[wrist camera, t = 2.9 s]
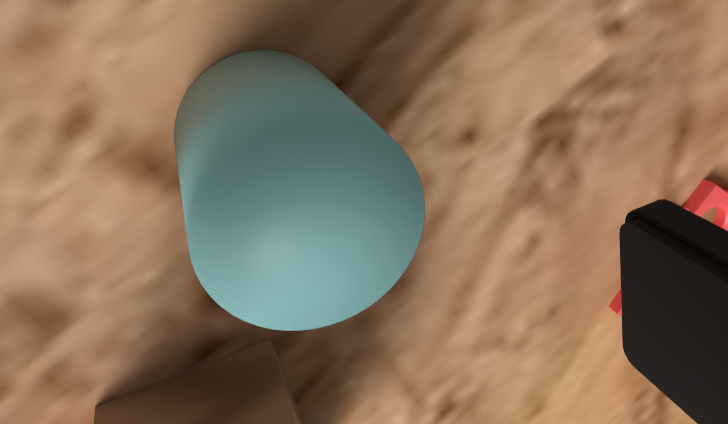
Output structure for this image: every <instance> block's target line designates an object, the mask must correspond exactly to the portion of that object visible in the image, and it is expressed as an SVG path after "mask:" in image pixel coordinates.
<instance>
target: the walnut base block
mask: <svg viewBox="0 0 728 424" xmlns="http://www.w3.org/2000/svg"><path fill="white" fill-rule="evenodd" d="M94 424H304V423H303V420H302V418H301V415H300V413H299V410H298V408H297V405H296V403H295V400H294V397H293V395H292V392H291V390H290V387H289V385H288V382H287V380H286V377H285V375H284V372H283V370H282V367H281V365H280V362H279V360H278V357H277V355H276V352H275V350H274V347H273V345H272V342H271V339H268V340H265V341H263V342H260V343H258V344H255V345H253V346H250V347H248V348H245V349H242V350H240V351H237V352H235V353H232V354H230V355H227V356H224V357H222V358H219V359H217V360H214V361H212V362H209V363H206V364H204V365H201V366H199V367H196V368H194V369H191V370H189V371H186V372H183V373H181V374H178V375H176V376H173V377H171V378H168V379H165V380H163V381H160V382H158V383H155V384H153V385H150V386H147V387H145V388H142V389H140V390H137V391H135V392H132V393H130V394H127V395H124V396H122V397H119V398H117V399H114V400H112V401H109V402H106V403H104V404H101V405H99V406H96V407H95V416H94Z"/></svg>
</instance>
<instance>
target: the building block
mask: <svg viewBox="0 0 728 424" xmlns="http://www.w3.org/2000/svg"><path fill="white" fill-rule="evenodd" d="M712 207H717V217H716V220H715V222H714V224H715V225H717V226H719V227H721V228H723V229H725V230H727V231H728V190H727V189H725V190H724V189H722V188H721V187H719V186H718V185H717V184H715V183H713V182H711V181H709V180H707V179H703V181H702V182H701V183H700V185H699V186H698V187H697V189H696V190H695V191H694V193H693V194H692V195H691V197H690V198H689V199H688V201H687V202H686V203H685V205H684V206H683V207H682V208H684V209H686V210H688V211H690V212H692V213H694V214H696V215H698V216H700V217H701V216H702V215H703V214H704V213H705V212H706V211H707V210H708V209H710V208H712ZM609 307H610V308H611V309H612V310H613V311H614V312H615V313H617V314H618V315H620V316H622V301H621V290H620V291H619V293H618V294H617V295H616V297H615V298H614V299H613V301H612V302H611V303H610V305H609Z"/></svg>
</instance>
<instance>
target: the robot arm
mask: <svg viewBox="0 0 728 424" xmlns="http://www.w3.org/2000/svg"><path fill="white" fill-rule="evenodd" d="M620 265H621V301H622V337H623V349H624V352H625V355H626V356H627V358H628V360H629V361H630V363H631V364H632V365H633V366H634V367H635V368H636V369H637V370H638V371H639V372H640V373H641V374H643V375H644V376H645V377H646V378H647V379H648V380H649V381H650V382H652V383H653V384H654V385H655V386H656V387H657V388H658V389H659V390H661V391H662V392H663V393H664V394H665V395H666V396H667V397H668V398H669V399H671V400H672V401H673V402H674V403H675V404H676V405H677V406H678V407H680V408H681V409H682V410H683V411H684V412H685V413H686V414H687V415H689V416H690V417H691V418H692V419H693V420H694V421H695V422H696V423H697V424H728V231H727V230H725V229H723V228H721V227H719V226H717V225H715V224H713V223H711V222H709V221H707V220H705V219H703V218H702V217H700V216H698V215H696V214H694V213H692V212H690V211H688V210H686V209H684V208H682V207H680V206H678V205H676V204H674V203H673V202H671V201H668V200H665V199H663V200H657V201H655V202H652V203H650V204H647V205H645V206H642V207H640V208H637V209H635V210H632V211H631V212H629V213H628V214H627V216H626V219H625V223H624V224H623V225H622V226H621V228H620Z"/></svg>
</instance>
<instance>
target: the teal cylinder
mask: <svg viewBox="0 0 728 424" xmlns="http://www.w3.org/2000/svg"><path fill="white" fill-rule="evenodd" d="M174 144H175V152H176V159H177V166H178V174H179V181H180V189H181V196H182V203H183V211H184V218H185V226H186V233H187V241H188V248H189V253H190V258H191V262H192V265H193V268H194V270H195V273H196V275H197V277H198V279H199V281H200V283H201V284H202V286H203V288H204V289H205V290H206V291H207V293H208V294H209V295H210V297H211V298H212V299H213V300H214V301H215V302H216V303H218V304H219V305H220V306H221V307H222V308H223V309H225V310H226V311H228V312H229V313H230V314H232V315H233V316H235V317H237V318H239V319H241V320H243V321H245V322H248V323H251V324H253V325H256V326H259V327H264V328H268V329H274V330H283V331H301V330H309V329H316V328H320V327H325V326H329V325H332V324H335V323H338V322H341V321H343V320H345V319H347V318H350V317H352V316H354V315H356V314H358V313H359V312H361V311H363V310H364V309H366V308H368V307H369V306H370V305H372V304H373V303H375V302H376V301H377V300H379V299H380V298H381V297H382V296H383V295H384V294H385V293H386V292H388V291H389V290H390V289H391V287H392V286H393V285H394V284H395V283H396V282H397V281H398V280H399V278H400V277H401V276H402V274H403V273H404V271H405V270H406V269H407V267H408V265H409V263H410V262H411V260H412V258H413V256H414V254H415V252H416V249H417V247H418V244H419V241H420V238H421V234H422V231H423V224H424V217H425V202H424V194H423V188H422V185H421V181H420V178H419V175H418V173H417V171H416V168H415V166H414V164H413V163H412V161H411V160H410V158H409V157H408V155H407V154H406V152H405V151H404V150H403V149H402V148H401V147H400V145H399V144H398V143H397V142H396V141H395V140H393V139H392V138H391V137H390V136H389V135H388V134H387V133H386V132H385V131H384V130H383V129H382V128H381V127H380V126H378V125H377V124H376V123H375V122H374V121H373V120H372V119H371V118H370V117H369V116H368V115H367V114H366V113H365V112H363V111H362V110H361V109H360V108H359V107H358V106H357V105H356V104H355V103H354V102H353V101H352V100H351V99H350V98H348V97H347V96H346V95H345V94H344V93H343V92H342V91H341V90H340V89H339V88H338V87H337V86H336V85H335V84H333V83H332V82H331V81H330V80H329V79H328V78H327V77H326V76H325V75H324V74H323V73H322V72H320V71H319V70H318V69H317V68H316V67H315V66H313V65H311V64H310V63H308V62H307V61H305V60H303V59H301V58H299V57H297V56H294V55H291V54H288V53H285V52H280V51H274V50H253V51H246V52H242V53H237V54H234V55H232V56H229V57H226V58H224V59H222V60H220V61H219V62H217V63H215V64H213V65H212V66H211V67H209V68H208V69H207V70H205V71H204V72H203V73H202V74H201V75H200V76H199V77H198V78H197V79H196V80H195V81H194V82H193V84H192V85H191V86H190V87H189V89H188V90H187V92H186V94H185V95H184V97H183V99H182V101H181V104H180V106H179V109H178V112H177V116H176V120H175V127H174Z"/></svg>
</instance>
